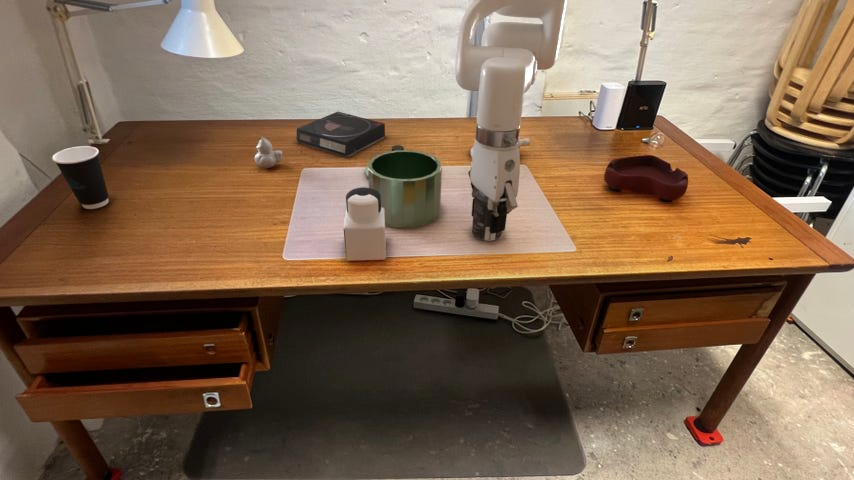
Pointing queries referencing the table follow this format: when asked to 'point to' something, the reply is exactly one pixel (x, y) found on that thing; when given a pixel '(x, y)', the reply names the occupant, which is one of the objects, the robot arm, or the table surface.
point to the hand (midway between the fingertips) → (487, 222)
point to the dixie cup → (83, 175)
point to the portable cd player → (341, 133)
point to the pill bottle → (483, 217)
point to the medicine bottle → (364, 225)
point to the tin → (407, 187)
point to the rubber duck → (267, 154)
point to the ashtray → (646, 177)
